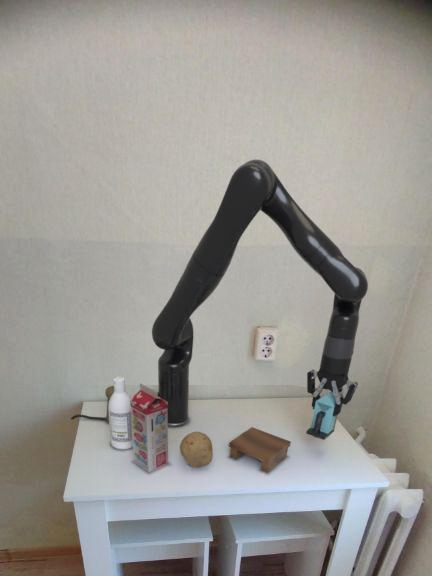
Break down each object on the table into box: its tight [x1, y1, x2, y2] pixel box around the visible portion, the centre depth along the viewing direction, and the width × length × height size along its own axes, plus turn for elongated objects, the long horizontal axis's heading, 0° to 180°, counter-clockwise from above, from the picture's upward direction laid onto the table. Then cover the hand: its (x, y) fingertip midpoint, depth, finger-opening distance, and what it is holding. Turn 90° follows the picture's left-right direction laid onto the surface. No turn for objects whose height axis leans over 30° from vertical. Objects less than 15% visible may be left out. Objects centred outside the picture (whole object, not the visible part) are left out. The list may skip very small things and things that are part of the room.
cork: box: [104, 385, 114, 425], centre depth 143 cm, size 6×6×11 cm
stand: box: [228, 426, 291, 474], centre depth 131 cm, size 12×13×5 cm
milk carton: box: [130, 383, 169, 473], centre depth 120 cm, size 7×7×22 cm
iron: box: [305, 391, 339, 441], centre depth 128 cm, size 12×6×7 cm
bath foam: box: [108, 376, 133, 450], centre depth 128 cm, size 7×7×20 cm
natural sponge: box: [179, 431, 214, 468], centre depth 124 cm, size 9×9×10 cm
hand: (325, 411), depth 129 cm, fingers closed on iron, 5 cm apart
